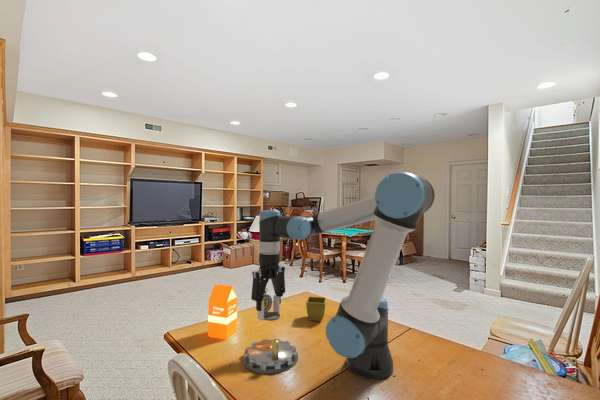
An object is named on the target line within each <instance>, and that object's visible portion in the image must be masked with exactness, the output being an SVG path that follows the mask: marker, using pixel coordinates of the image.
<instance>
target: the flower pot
mask: <svg viewBox="0 0 600 400" xmlns="http://www.w3.org/2000/svg"><path fill="white" fill-rule="evenodd" d="M326 303H327V298H326V296H322V297H321V296H307V298H306V301H305V304H306V306H305V307H306V314H307V316H308V319H309V320H310V321H315V322H322V320H323V319H324V316H325V311H326Z"/></svg>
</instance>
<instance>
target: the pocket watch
mask: <svg viewBox="0 0 600 400" xmlns="http://www.w3.org/2000/svg"><path fill="white" fill-rule="evenodd" d="M267 292H268V288H267V287H266V288H265V292H264V296H263V300H262V301H264V320H263V321H272V322H273V321H277V320H279V319H280V318H281V313H280V314H279V313H277V312H273V311H270V310H271V308H272V305H273V297H272V296H271V295H270V294H267Z"/></svg>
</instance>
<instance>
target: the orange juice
mask: <svg viewBox="0 0 600 400" xmlns="http://www.w3.org/2000/svg"><path fill="white" fill-rule="evenodd" d="M207 305H208V308H207V311H208V312H207V313H208V315H207V337H208V336H209V338H214V339H221V340H226V341H227V340H229V339H230V338H231V337H232V336H233V335H235V334H236V333H237V330H238V328H237V327H238V326H237V325H238V296H237V294H236V291H235V289H234V287H233V285H226V284H225V285H223V284H215V283H214V285H213V287H212V290H211V293H210V295H209V299H208V304H207Z"/></svg>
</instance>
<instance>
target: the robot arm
mask: <svg viewBox="0 0 600 400" xmlns="http://www.w3.org/2000/svg"><path fill="white" fill-rule="evenodd" d="M376 186H377V187H376V189H375V192H374V195H373V196H370V197H366V198H364V199H360V200H356V201H353V202H350V203H347V204H344V205H340V206H338V207H333V208H331V209H327V210H324V211H320V212H318V213H315V214H310V215H297V216H295V215H294V216H284V215H283V216H282V215H281V211H280V210H278V209H274V210H273V209H272V210H270V209H263V210H261V211H260V213H259V220H258V223H259V226H258V227H259V228H258V229H259V232H258V234H259V239H258V251H259V252H260V253H259V255H258V263H259V269H258V270H256V271H254V270H253V271H252V272H251V274H252V286H251V287H252V288H251V298H250V299H251V300H252V301H255V305H256V307H255V310H256V311H257V320H259V321H262V322H263V321H265V320H264V308H265V307H264V301H262V300H263V296H264V292H265V291H266V288H267V284H268V283H269V280H271V284H272V288H273V290H274V291H273V292H274V294H275V295H273V297H272V305H273V307H272V308H273V309H272V312H277V313H279V314H280V315H281V313H280V309H281V306H280V305H281V303H282V297H283V296H284V294H286V283H285V282H286V280H285V279H286V277H285V271H286V267H285V266H281V265H279V264H280V263H281V262H280V261H281V258H280V257H281V254H280V252H281V238H284V239H292V240H296V241H297V240H305V239H306V238H308V237H311V236H319V235H322V234H324V233H327V232H331V231H336V230H340V229H343V228H348V227H351V226H354V225H359V224H363V223H367V222H371V221H375V224H374V227H373V229H372V232H371V235H370V238H369V240H368V242H367V245H366V248H365V251H364V253H363V257H362V259H361V262H360V265H359V267H358V269H357V272H356V275H355V278H354V280H353V283H352V286H351V289H350V291H349V294H348V295H347V296H344V297H342V298H341V301H340V302H339V305H338V308H337V310H336V312H335V313H336V314H335V315H334V316H332V317H331V318H330V319H329V320H328V322H327V324H326V326H325V336H326V339H327V341H328V343H329V344H328V345H330V347H331V348H332V349H333V351H334V352H336V353H337V354H338V355H340V356H341V357H344V358H346V366H347V369H348V370H349V371H350V372H352V373H353V374H355V375H356V376H358V377H361V378H365V379H371V380H381V379H386V378H388V377H390V376H391V375H392V374H393V372H394V360H393V357H392V354H391V350H390V347H389V334H388V333H389V305H388V304H389V303H388V300H387V299H386V298H385V297H383V295H384V294H385V290H386V288H387V285H388V283H389V280H390V278H391V276H392V273H393V270H394V268H395V265H396V263H397V260H398V258H399V256H400V252H401V250H402V247H403V245H404V243H405V240H406V238H407V236H408V234H409V233H411V232H414V231H416V229H417V226H418V224H419V222H420V219H421V217H422V215H423V214H425V213H426V212H428V211H429V209H431V208H432V206H433V204H434V202H435V197H436V196H435V195H436V194H435V189H434V187H433V185H432V184H431V183H430V181H429V180H427V178H425V177H422V176H419V175H416V174H413V173H412V172H408V171H407V172H406V171H398V172H393V173H390V174H388V175H385V176H384V178H382V179H381V181H379V183H378V184H377V185H376Z"/></svg>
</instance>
